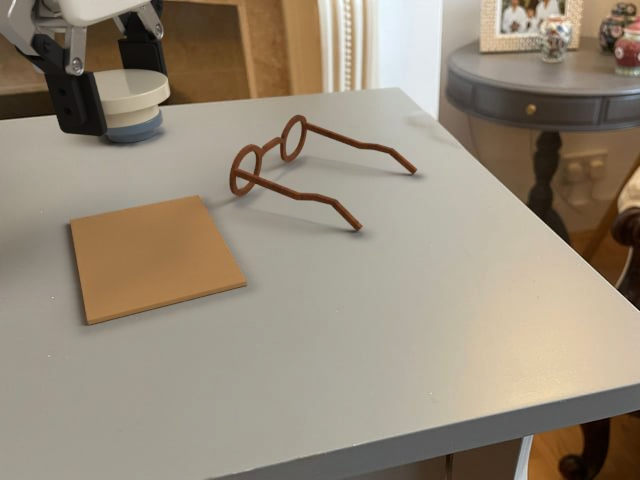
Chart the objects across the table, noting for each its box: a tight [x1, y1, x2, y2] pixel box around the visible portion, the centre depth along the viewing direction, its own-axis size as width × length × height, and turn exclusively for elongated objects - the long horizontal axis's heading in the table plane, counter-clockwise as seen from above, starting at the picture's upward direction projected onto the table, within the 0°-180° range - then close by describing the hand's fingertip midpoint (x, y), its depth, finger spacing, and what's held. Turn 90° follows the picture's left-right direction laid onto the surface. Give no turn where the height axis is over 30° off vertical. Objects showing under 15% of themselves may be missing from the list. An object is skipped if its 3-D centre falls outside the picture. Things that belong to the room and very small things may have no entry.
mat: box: [69, 194, 248, 326], centre depth 52 cm, size 16×11×1 cm
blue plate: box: [104, 108, 164, 144], centre depth 73 cm, size 7×7×2 cm
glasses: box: [228, 114, 418, 232], centre depth 60 cm, size 13×13×5 cm
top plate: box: [93, 68, 171, 128], centre depth 45 cm, size 7×7×2 cm
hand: (119, 111), depth 46 cm, fingers closed on top plate, 7 cm apart
